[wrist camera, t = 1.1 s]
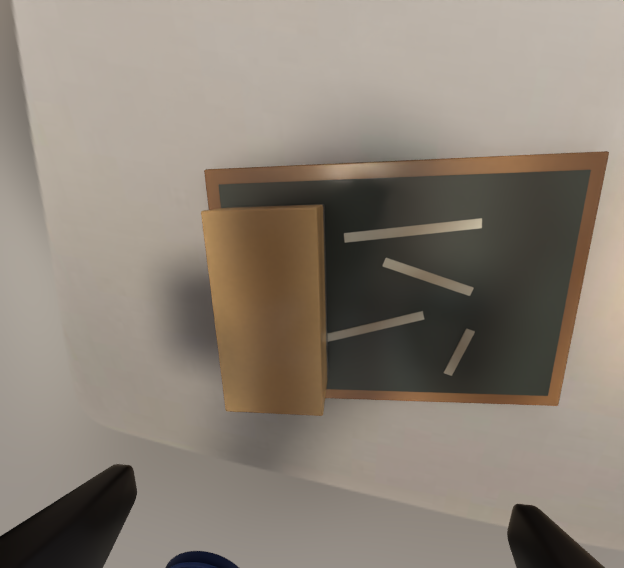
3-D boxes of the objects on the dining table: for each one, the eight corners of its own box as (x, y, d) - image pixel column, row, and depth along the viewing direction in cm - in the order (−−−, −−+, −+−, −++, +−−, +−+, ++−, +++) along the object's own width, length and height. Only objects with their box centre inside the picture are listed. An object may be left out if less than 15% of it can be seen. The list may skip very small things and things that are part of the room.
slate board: (234, 388, 22) (228, 397, 21) (209, 170, 18) (201, 169, 17) (550, 398, 20) (561, 409, 19) (597, 153, 16) (614, 150, 15)
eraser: (248, 370, 20) (225, 411, 16) (232, 207, 17) (200, 210, 14) (328, 372, 20) (323, 416, 16) (324, 204, 17) (317, 207, 13)
